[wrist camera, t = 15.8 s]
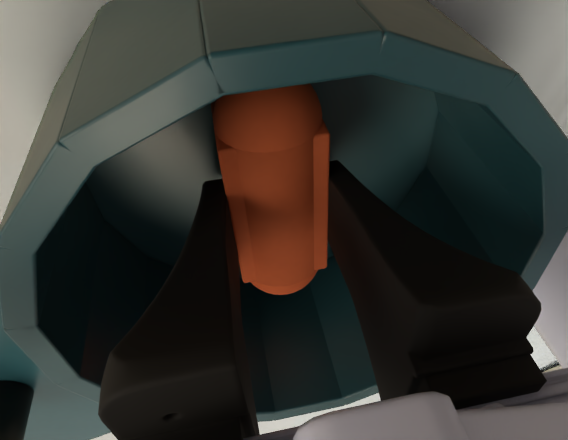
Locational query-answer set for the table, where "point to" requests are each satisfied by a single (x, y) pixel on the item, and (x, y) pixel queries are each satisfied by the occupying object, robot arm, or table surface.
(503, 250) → the pot
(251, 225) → the hot dog
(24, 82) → the table surface
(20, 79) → the table surface
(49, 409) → the pot lid
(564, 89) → the table surface
